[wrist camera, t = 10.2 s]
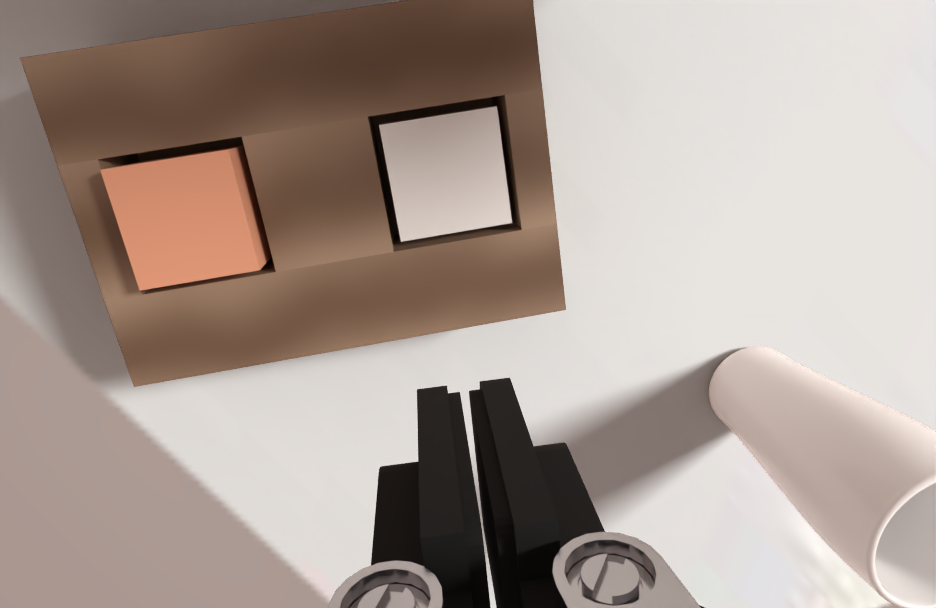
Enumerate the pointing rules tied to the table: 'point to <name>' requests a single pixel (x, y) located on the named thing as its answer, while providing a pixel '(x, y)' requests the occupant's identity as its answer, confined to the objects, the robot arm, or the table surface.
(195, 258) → the terracotta plug
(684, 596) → the robot arm
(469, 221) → the white plug
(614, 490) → the table surface
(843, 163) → the table surface
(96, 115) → the walnut block
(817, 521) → the drinking glass
